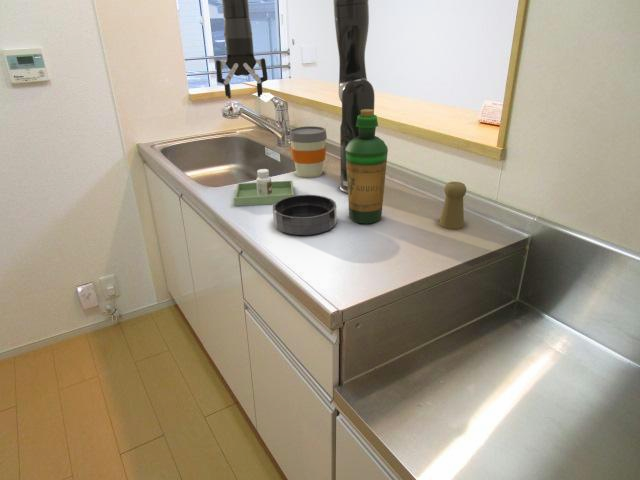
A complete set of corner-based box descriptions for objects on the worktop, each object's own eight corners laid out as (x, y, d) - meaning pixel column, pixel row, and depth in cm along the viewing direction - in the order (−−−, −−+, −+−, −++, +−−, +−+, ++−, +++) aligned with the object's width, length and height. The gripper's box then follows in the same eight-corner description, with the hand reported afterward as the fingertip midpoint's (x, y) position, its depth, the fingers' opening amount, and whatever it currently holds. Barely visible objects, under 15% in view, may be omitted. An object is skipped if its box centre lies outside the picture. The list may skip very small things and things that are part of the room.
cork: (464, 220, 116) (469, 180, 111) (463, 230, 111) (468, 188, 106) (440, 218, 118) (444, 178, 113) (438, 227, 113) (442, 186, 108)
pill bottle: (272, 197, 135) (270, 172, 131) (257, 198, 134) (255, 173, 131) (272, 192, 139) (270, 167, 135) (258, 193, 138) (255, 168, 135)
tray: (292, 188, 143) (292, 180, 142) (294, 202, 131) (293, 194, 130) (238, 190, 142) (237, 183, 141) (234, 206, 130) (233, 198, 129)
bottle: (339, 223, 117) (339, 113, 105) (351, 209, 126) (352, 105, 114) (380, 228, 113) (384, 115, 101) (389, 213, 122) (394, 107, 110)
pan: (332, 210, 125) (332, 193, 123) (339, 234, 111) (339, 215, 109) (274, 213, 124) (273, 196, 122) (274, 238, 110) (272, 219, 108)
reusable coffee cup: (318, 166, 164) (317, 124, 157) (333, 175, 153) (332, 131, 147) (286, 171, 159) (283, 128, 153) (299, 181, 149) (297, 136, 142)
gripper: (264, 35, 128) (269, 94, 135) (214, 37, 127) (221, 96, 134) (264, 36, 121) (268, 98, 128) (210, 37, 120) (218, 100, 128)
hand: (244, 97), depth 131 cm, fingers open, 8 cm apart
